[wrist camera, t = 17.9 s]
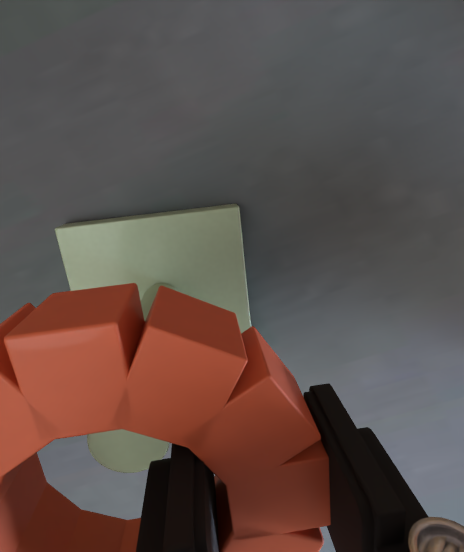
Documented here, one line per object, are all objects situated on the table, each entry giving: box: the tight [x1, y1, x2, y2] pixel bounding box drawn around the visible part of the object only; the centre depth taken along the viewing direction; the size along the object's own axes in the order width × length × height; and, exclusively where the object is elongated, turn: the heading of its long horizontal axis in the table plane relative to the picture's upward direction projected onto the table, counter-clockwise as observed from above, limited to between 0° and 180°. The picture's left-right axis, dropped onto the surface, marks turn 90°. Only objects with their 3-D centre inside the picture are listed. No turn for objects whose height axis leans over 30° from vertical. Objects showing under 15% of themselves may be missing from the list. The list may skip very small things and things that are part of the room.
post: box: [55, 204, 251, 473], centre depth 17 cm, size 10×10×12 cm
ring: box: [0, 283, 331, 552], centre depth 9 cm, size 10×10×2 cm
